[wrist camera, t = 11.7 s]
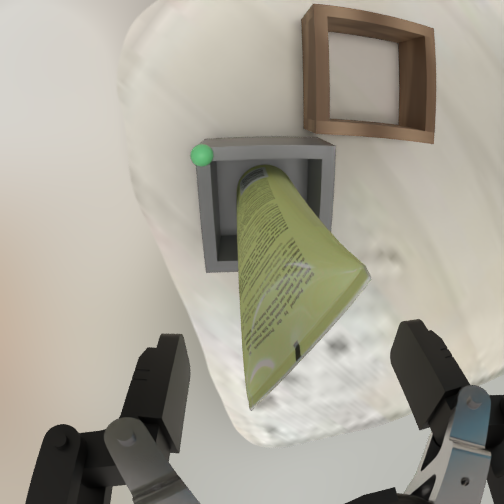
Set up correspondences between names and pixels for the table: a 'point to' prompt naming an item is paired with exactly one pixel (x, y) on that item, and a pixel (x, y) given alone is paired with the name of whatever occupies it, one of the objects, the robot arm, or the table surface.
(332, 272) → the tube
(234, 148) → the socket block
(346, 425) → the table surface
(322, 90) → the brown wooden square frame
